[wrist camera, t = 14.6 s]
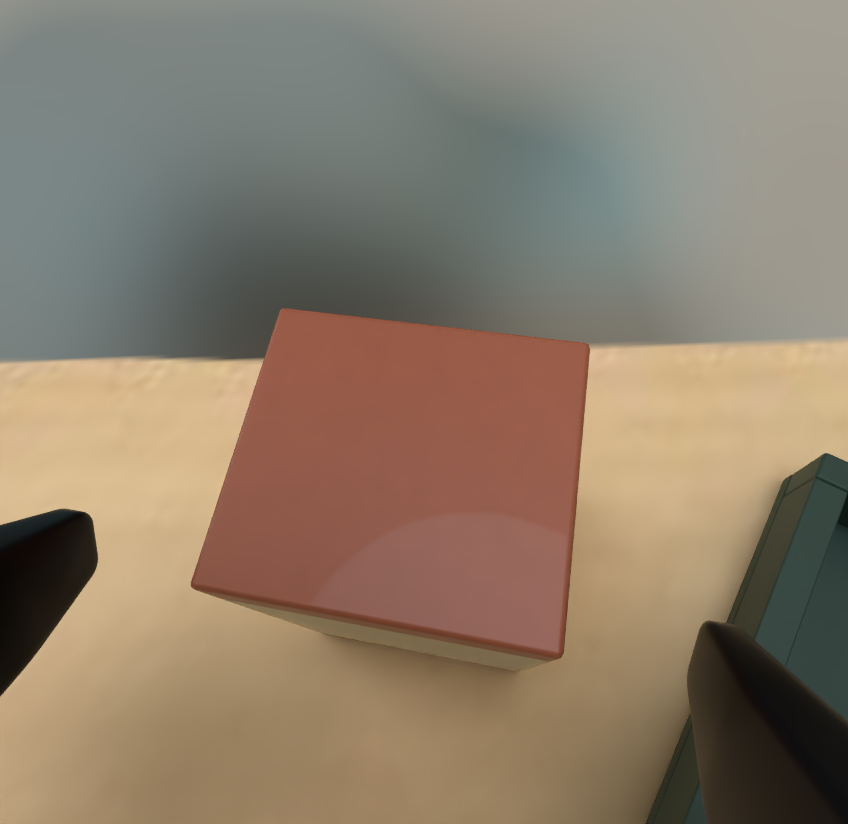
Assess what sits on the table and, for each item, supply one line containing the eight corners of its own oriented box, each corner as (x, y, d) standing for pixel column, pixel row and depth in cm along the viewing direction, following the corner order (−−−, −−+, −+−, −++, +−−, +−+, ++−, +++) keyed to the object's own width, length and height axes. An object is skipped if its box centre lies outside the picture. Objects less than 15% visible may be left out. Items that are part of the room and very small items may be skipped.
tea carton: (521, 671, 16) (564, 660, 8) (320, 632, 17) (186, 587, 9) (541, 490, 18) (591, 341, 10) (361, 462, 19) (279, 305, 11)
